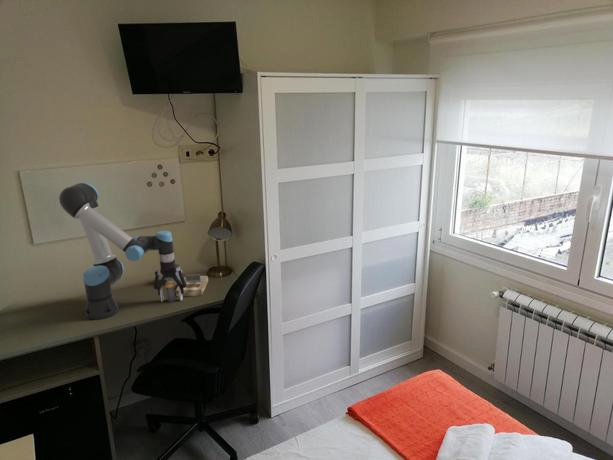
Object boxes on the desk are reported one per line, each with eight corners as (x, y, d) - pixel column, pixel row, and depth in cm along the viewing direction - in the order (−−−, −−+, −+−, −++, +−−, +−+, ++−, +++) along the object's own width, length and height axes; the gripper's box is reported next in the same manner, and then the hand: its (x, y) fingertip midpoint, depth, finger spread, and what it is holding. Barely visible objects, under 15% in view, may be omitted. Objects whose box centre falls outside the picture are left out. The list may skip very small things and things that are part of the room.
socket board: (176, 296, 249) (175, 290, 248) (184, 282, 268) (183, 276, 267) (201, 295, 249) (201, 289, 248) (208, 281, 268) (207, 276, 267)
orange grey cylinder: (166, 302, 241) (163, 284, 239) (168, 298, 246) (166, 281, 243) (175, 302, 241) (172, 284, 239) (177, 298, 246) (175, 281, 243)
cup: (167, 280, 271) (165, 264, 269) (181, 278, 274) (179, 263, 271) (167, 285, 264) (165, 269, 261) (181, 283, 266) (180, 267, 263)
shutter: (181, 283, 257) (180, 277, 256) (184, 278, 264) (183, 273, 263) (202, 282, 257) (202, 276, 256) (205, 277, 264) (204, 272, 263)
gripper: (143, 263, 234) (149, 303, 240) (186, 262, 234) (191, 302, 240) (148, 258, 241) (153, 298, 247) (190, 257, 241) (194, 296, 248)
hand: (172, 300), depth 244 cm, fingers open, 9 cm apart
